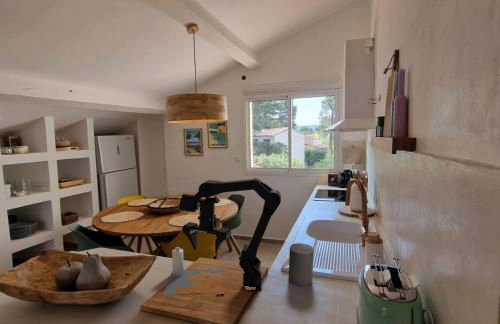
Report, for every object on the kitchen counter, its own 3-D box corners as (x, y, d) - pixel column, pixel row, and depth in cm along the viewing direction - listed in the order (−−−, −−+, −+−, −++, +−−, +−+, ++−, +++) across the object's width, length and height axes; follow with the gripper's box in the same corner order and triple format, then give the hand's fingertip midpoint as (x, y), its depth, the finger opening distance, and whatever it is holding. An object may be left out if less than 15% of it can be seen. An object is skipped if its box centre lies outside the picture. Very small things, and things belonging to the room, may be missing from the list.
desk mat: (224, 270, 119) (224, 268, 119) (224, 294, 101) (224, 292, 101) (172, 272, 116) (172, 270, 116) (162, 297, 99) (162, 295, 99)
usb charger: (185, 272, 115) (185, 245, 114) (180, 277, 111) (180, 250, 110) (175, 270, 116) (175, 244, 115) (170, 275, 112) (170, 249, 111)
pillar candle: (283, 277, 114) (284, 242, 112) (302, 271, 118) (303, 238, 117) (298, 289, 105) (299, 252, 104) (317, 283, 110) (319, 247, 108)
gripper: (236, 210, 111) (235, 247, 113) (195, 205, 116) (194, 240, 118) (226, 218, 100) (224, 259, 102) (181, 212, 106) (180, 250, 108)
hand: (205, 251), depth 108 cm, fingers open, 9 cm apart
